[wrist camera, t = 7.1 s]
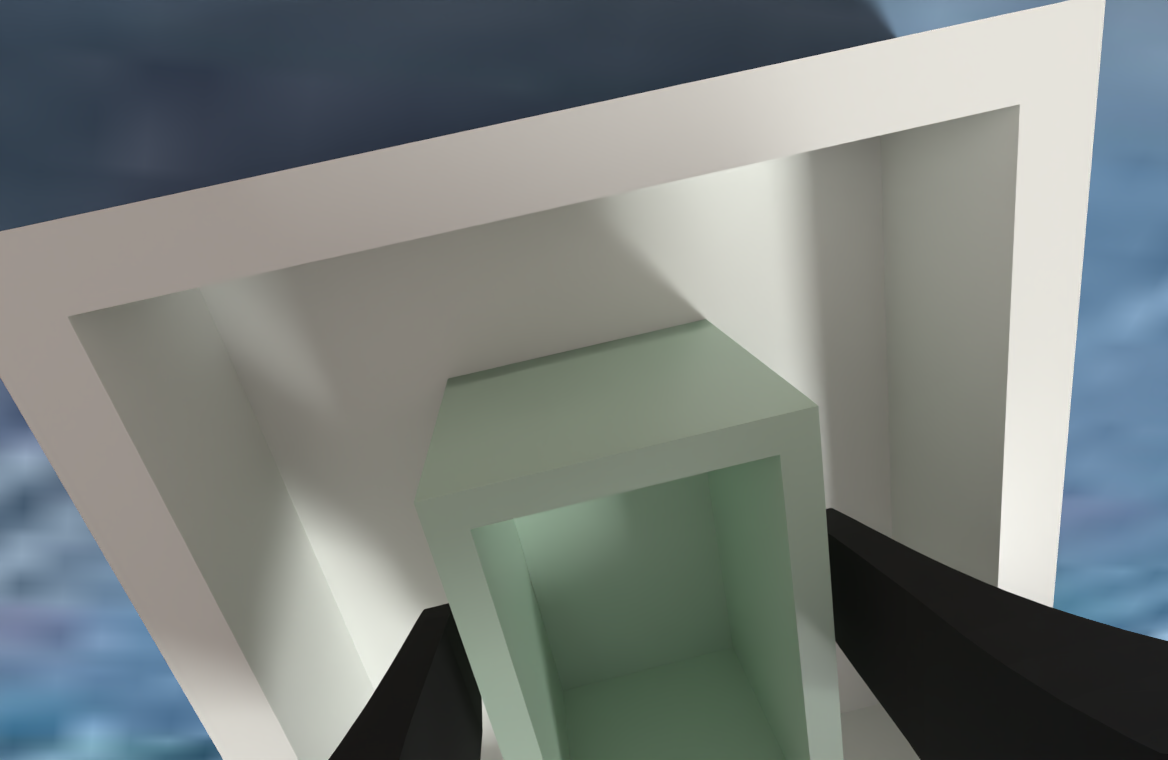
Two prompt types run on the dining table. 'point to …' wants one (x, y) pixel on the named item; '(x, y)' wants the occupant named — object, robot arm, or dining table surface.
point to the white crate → (565, 339)
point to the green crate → (639, 552)
